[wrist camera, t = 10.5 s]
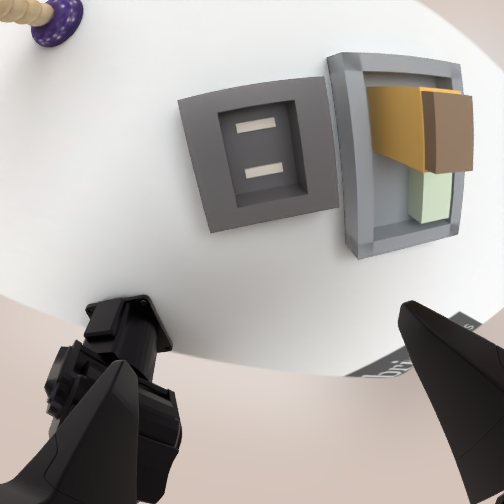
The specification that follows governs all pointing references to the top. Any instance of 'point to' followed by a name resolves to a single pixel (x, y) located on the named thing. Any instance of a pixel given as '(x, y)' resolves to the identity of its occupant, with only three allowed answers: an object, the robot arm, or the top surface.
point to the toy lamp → (44, 18)
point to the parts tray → (380, 166)
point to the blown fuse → (423, 127)
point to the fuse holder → (262, 151)
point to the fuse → (429, 195)
